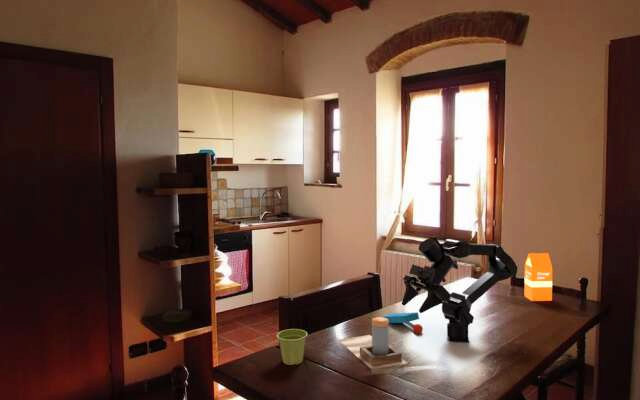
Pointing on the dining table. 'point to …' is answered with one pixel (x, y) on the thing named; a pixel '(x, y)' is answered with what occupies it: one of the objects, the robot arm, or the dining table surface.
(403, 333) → the dining table surface
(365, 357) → the jig
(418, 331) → the lever
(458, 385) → the dining table surface
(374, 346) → the orange-capped blue cylinder
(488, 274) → the robot arm
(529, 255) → the orange juice
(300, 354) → the plant pot
